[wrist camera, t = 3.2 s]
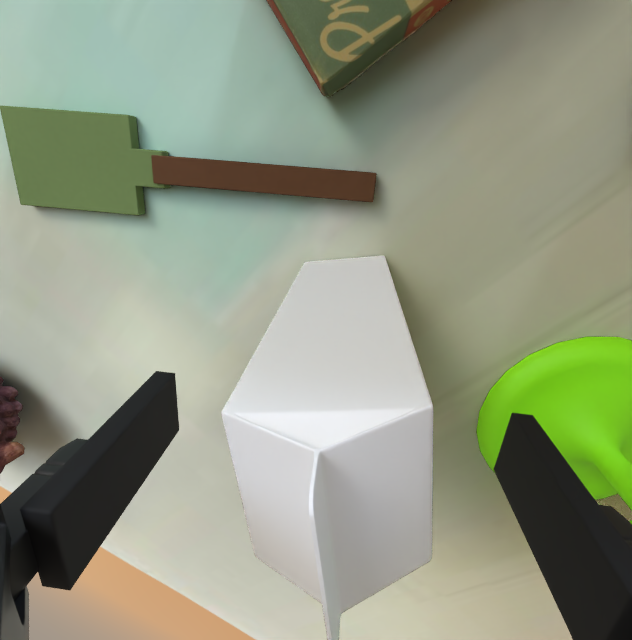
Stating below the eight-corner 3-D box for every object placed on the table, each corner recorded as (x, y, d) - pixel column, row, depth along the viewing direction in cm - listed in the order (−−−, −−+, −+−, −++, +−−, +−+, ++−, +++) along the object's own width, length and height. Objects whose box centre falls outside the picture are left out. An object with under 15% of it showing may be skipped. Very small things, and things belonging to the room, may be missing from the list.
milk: (384, 254, 27) (475, 499, 7) (387, 330, 30) (464, 687, 9) (302, 261, 28) (167, 500, 8) (311, 335, 30) (223, 674, 10)
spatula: (31, 203, 29) (15, 205, 27) (11, 107, 26) (-7, 104, 25) (368, 234, 27) (368, 237, 26) (380, 134, 24) (381, 133, 23)
